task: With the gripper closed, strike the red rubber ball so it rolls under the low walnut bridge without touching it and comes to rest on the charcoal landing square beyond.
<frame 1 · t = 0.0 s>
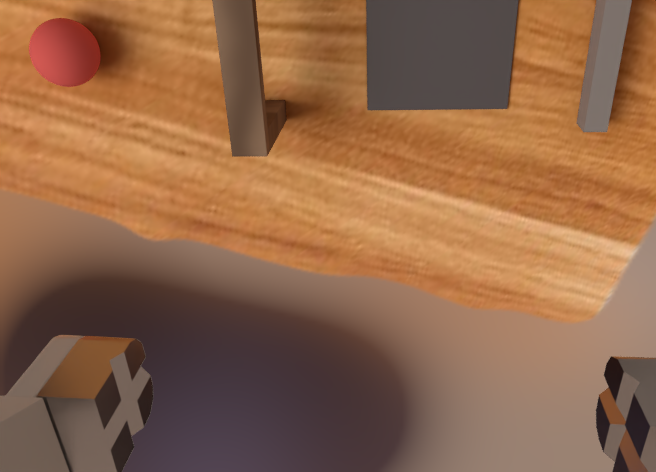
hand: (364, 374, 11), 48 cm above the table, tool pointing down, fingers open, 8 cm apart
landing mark: (439, 37, 53), on the table
bridge: (264, 41, 55), on the table
ball: (65, 53, 55), on the table
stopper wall: (603, 34, 52), on the table
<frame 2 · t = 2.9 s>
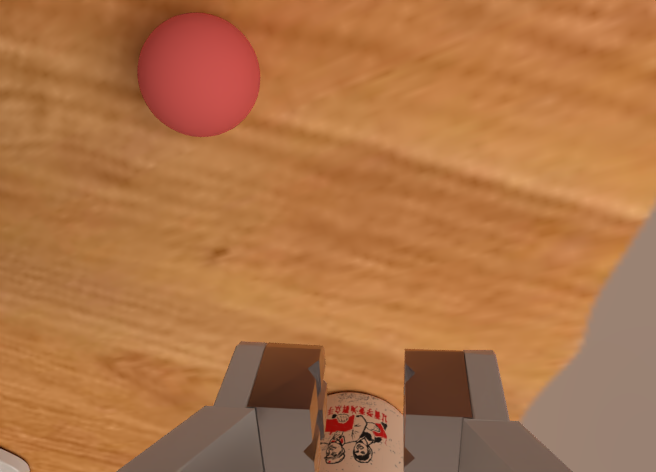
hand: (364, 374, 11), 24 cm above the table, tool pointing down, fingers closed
teacup with lid: (336, 433, 46), on the table
ball: (200, 76, 30), on the table
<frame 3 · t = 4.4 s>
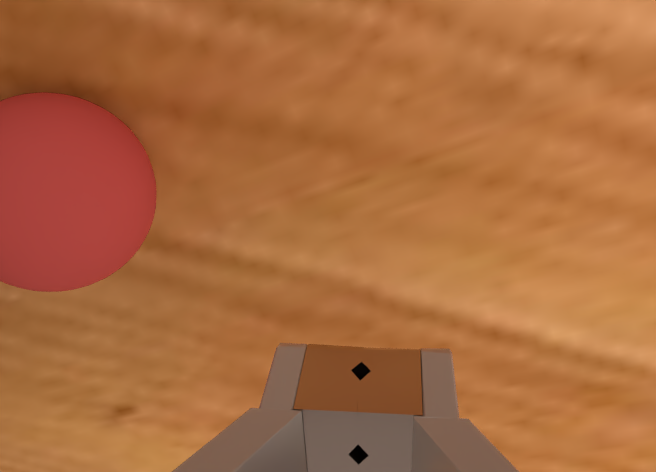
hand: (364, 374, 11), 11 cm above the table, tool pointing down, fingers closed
ball: (54, 193, 18), on the table
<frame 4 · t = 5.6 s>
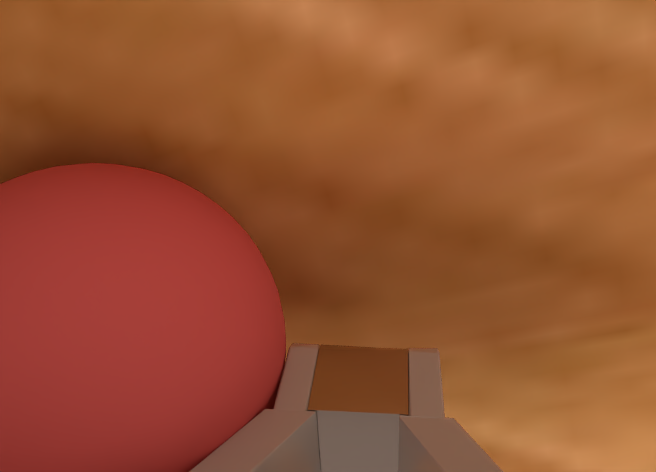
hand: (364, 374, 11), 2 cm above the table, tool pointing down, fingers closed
ball: (103, 346, 10), on the table, touching gripper
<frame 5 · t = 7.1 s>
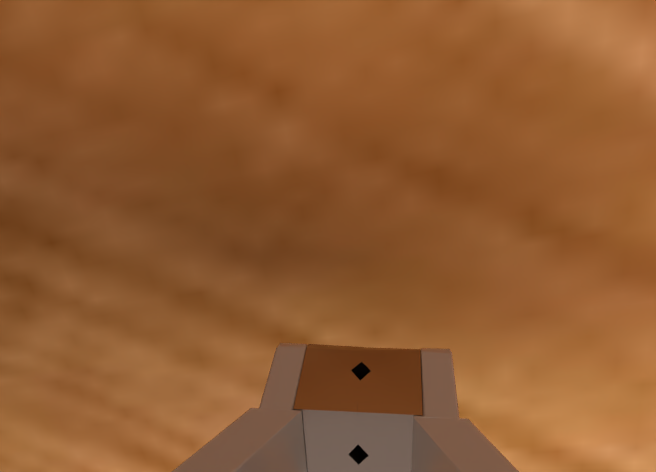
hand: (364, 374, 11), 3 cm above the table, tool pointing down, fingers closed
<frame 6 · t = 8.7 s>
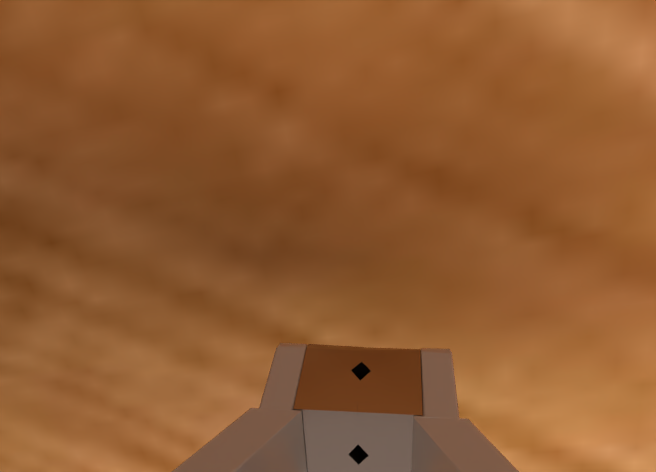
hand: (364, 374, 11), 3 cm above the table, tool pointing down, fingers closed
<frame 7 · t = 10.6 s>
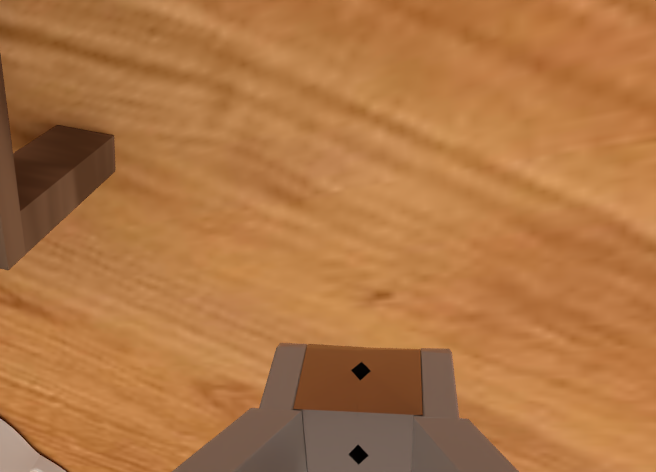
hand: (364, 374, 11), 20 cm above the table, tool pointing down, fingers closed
bridge: (79, 19, 28), on the table
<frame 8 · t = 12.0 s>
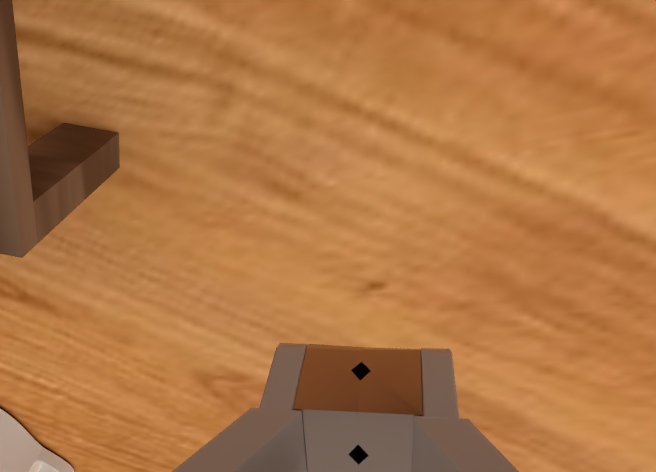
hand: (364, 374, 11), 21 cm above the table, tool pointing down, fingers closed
bridge: (86, 21, 29), on the table
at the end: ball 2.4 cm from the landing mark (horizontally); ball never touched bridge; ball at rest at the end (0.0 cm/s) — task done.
